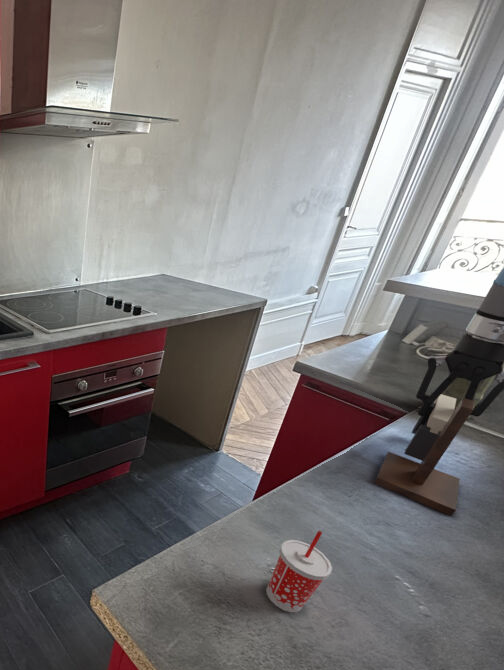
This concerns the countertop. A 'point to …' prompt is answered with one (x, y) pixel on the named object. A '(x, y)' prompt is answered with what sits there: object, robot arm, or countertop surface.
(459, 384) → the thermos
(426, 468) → the headphone stand
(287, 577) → the beverage cup
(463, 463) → the countertop surface
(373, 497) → the countertop surface
